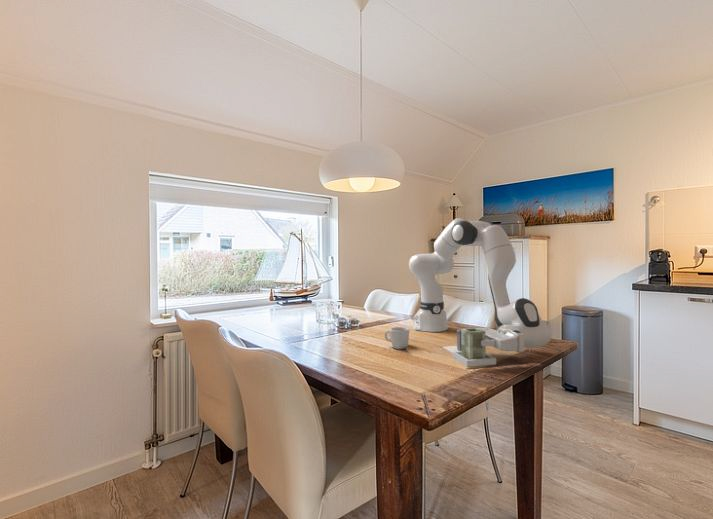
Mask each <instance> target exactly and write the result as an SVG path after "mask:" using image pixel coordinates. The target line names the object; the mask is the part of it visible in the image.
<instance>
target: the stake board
mask: <svg viewBox="0 0 713 519" xmlns="http://www.w3.org/2000/svg"><path fill="white" fill-rule="evenodd" d="M461 329H462V328H459V329H457V330H456V345H451V346H449V345H447V346H442V348H443V349H445V350H446V351H448V352H449V353H451V354H452V352H457V351H462V344H461Z"/></svg>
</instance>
